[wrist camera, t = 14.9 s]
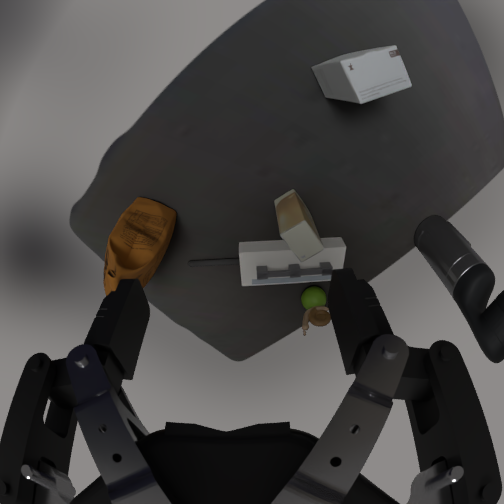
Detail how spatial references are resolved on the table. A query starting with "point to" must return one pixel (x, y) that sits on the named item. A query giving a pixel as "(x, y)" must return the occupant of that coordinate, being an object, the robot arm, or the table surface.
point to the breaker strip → (279, 260)
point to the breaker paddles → (294, 271)
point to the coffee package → (138, 243)
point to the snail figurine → (314, 308)
